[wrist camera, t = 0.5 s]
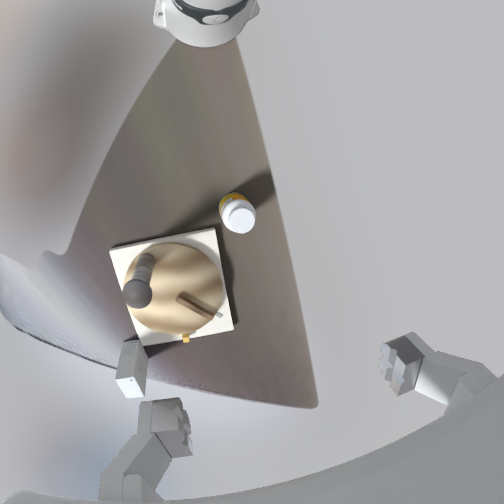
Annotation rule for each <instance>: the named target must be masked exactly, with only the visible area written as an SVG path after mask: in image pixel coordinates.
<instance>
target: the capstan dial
mask: <svg viewBox="0 0 504 504" xmlns="http://www.w3.org/2000/svg"><path fill="white" fill-rule="evenodd" d="M122 297H123V300H124V302H125V303H126V304H127V307H128V309H129V310H130V312H131V313H132V315H133V316H134V317H135V318H136V319H137V320H138V321H139V322H140V323H141V324H143V325H144V326H146V327H147V328H149V329H151V330H154V331H156V332H159V333H164V334H171V335H179V334H186V333H190V332H193V331H195V330H198V329H200V328H201V327H203V326H205V325H206V324H207V323H208V322H210V321H212V320H213V318H214V316H215V315H216V313H217V312H218V310H219V308H220V305H221V302H222V298H223V285H222V280H221V276H220V273H219V271H218V269H217V267H216V265H215V264H214V263H213V261H212V260H211V259H210V258H209V257H208V256H207V255H206V254H205V253H203V252H202V251H200V250H198V249H197V248H195V247H192V246H190V245H187V244H183V243H175V242H167V243H160V244H157V245H154V246H151V247H149V248H147V249H145V250H144V251H142V252H141V253H140V254H138V255H137V256H136V257H135V258H134V260H133V261H132V262H131V264H130V266H129V268H128V270H127V272H126V275H125V278H124V283H123V290H122Z"/></svg>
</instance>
